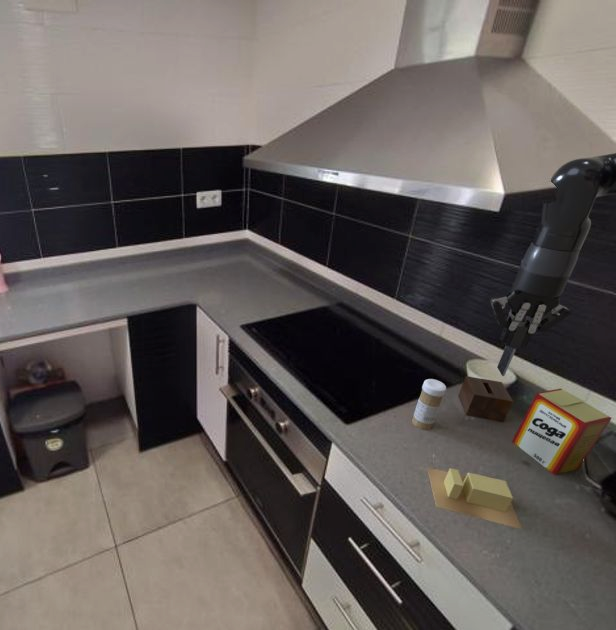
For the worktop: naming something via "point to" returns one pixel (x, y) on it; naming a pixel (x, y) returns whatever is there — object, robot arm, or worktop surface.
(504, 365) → the knife
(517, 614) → the worktop surface
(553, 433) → the baking soda box
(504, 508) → the butter block
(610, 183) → the robot arm
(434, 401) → the sprinkles bottle
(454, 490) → the butter slice
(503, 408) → the knife block
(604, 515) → the worktop surface
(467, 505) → the butter board
